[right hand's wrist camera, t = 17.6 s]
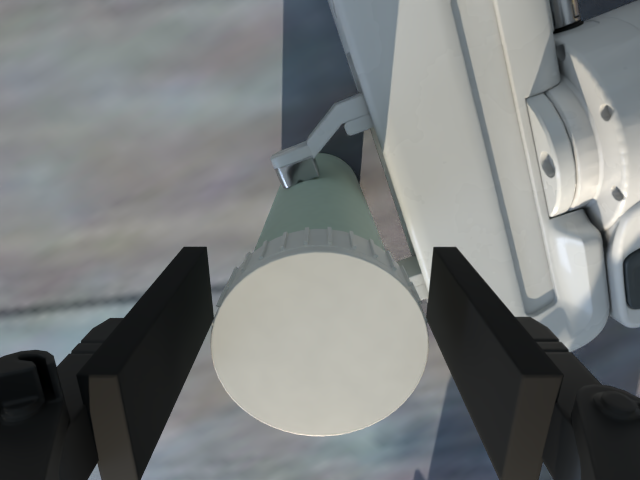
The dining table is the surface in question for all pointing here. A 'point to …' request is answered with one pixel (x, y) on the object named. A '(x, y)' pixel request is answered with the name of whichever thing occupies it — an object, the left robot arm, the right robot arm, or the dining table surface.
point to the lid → (319, 333)
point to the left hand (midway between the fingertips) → (303, 233)
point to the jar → (322, 204)
